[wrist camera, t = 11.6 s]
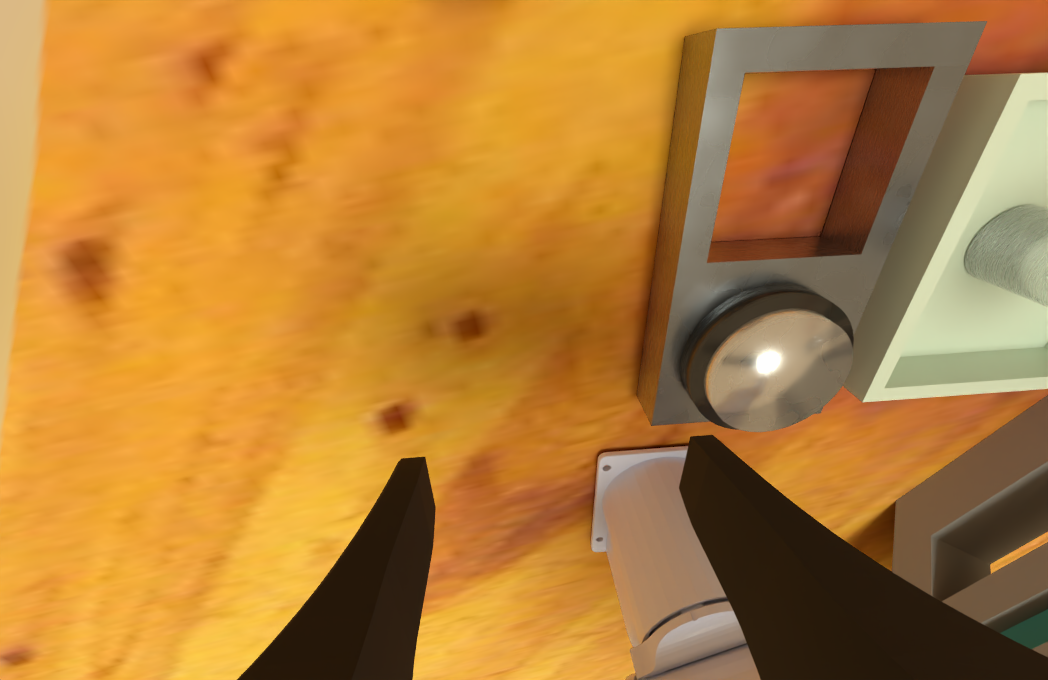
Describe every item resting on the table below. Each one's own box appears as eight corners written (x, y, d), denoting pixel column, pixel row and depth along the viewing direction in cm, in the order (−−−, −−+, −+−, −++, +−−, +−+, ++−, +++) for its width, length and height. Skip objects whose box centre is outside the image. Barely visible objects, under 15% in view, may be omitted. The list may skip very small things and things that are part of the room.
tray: (1038, 353, 25) (1103, 384, 22) (822, 368, 24) (862, 402, 21) (1240, 65, 17) (1370, 61, 15) (939, 75, 17) (1020, 73, 14)
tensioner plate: (791, 384, 24) (848, 440, 21) (636, 395, 24) (665, 454, 20) (920, 30, 16) (1058, 11, 12) (684, 36, 16) (750, 20, 12)
